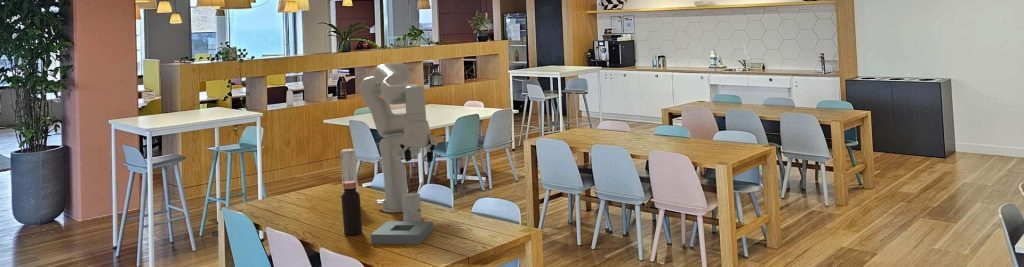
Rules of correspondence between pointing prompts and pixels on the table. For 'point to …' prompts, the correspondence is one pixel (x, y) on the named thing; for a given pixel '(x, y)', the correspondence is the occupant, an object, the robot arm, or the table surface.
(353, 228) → the bottle
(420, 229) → the socket block
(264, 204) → the table surface
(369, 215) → the table surface
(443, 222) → the table surface
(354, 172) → the air filter
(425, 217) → the table surface
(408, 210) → the skincare box
